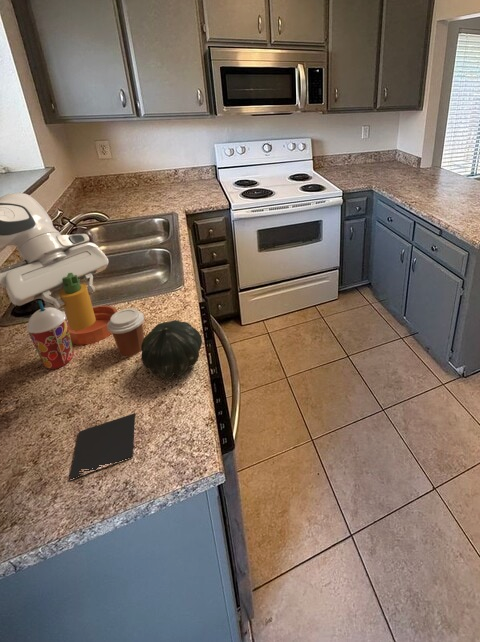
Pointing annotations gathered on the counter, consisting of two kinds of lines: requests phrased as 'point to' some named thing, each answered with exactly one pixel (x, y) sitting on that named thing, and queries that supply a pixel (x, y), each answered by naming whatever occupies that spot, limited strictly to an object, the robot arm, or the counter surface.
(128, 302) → the counter surface
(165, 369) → the squash
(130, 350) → the coffee cup
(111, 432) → the mat
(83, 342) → the bowl
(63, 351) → the smoothie
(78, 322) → the pineapple
